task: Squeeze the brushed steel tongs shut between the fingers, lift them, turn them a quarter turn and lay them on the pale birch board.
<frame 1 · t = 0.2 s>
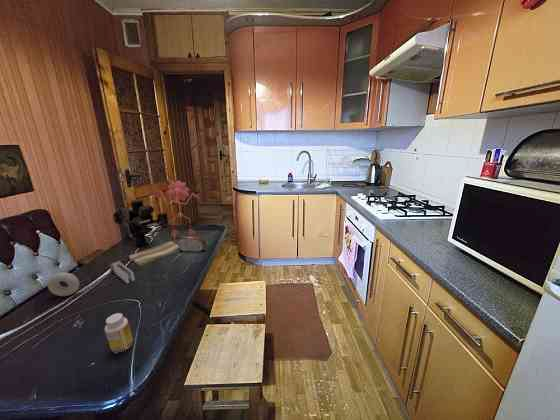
hand: (156, 226, 116), 17 cm above the table, tool horizontal, fingers open, 9 cm apart
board: (156, 253, 125), on the table
tin: (192, 251, 127), on the table
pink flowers: (185, 236, 147), on the table
donut: (67, 295, 93), on the table
tongs: (123, 275, 106), on the table
supplement bottle: (122, 346, 69), on the table
blueberries: (82, 325, 78), on the table
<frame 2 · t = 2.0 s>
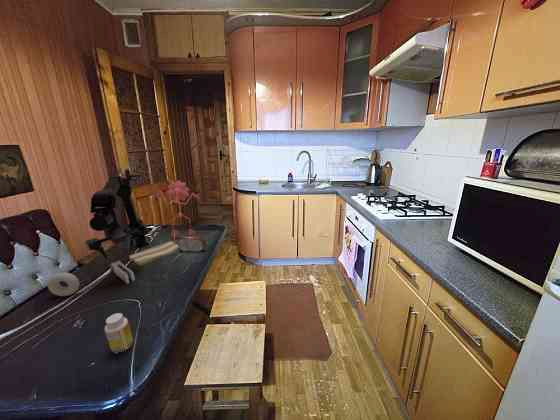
hand: (118, 255, 103), 10 cm above the table, tool pointing down, fingers open, 9 cm apart
nothing on the table moved.
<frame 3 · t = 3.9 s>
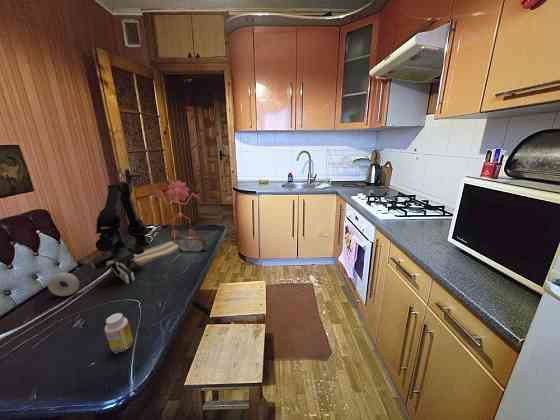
hand: (123, 273, 105), 1 cm above the table, tool pointing down, fingers closed on tongs, 3 cm apart
tongs: (123, 275, 106), on the table, touching gripper
everything else where it was.
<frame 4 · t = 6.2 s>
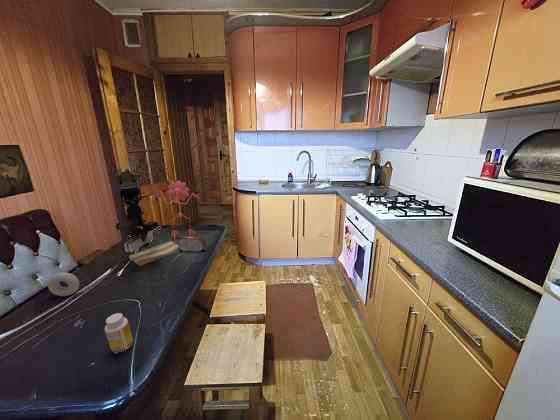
hand: (141, 241, 115), 11 cm above the table, tool pointing down, fingers closed on tongs, 3 cm apart
tongs: (141, 244, 115), point 9 cm above the table, touching gripper
everything else where it was.
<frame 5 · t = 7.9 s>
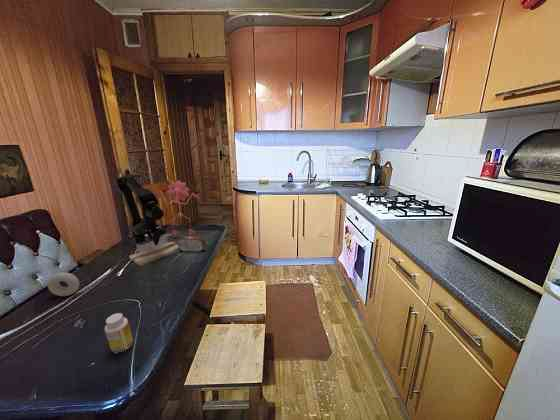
hand: (154, 244, 124), 6 cm above the table, tool pointing down, fingers closed on tongs, 3 cm apart
tongs: (155, 246, 124), point 4 cm above the table, touching gripper
everything else where it was.
when the fingers open (3 cm above the table, at t = 9.0 s): tongs stays where it is, resting on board.
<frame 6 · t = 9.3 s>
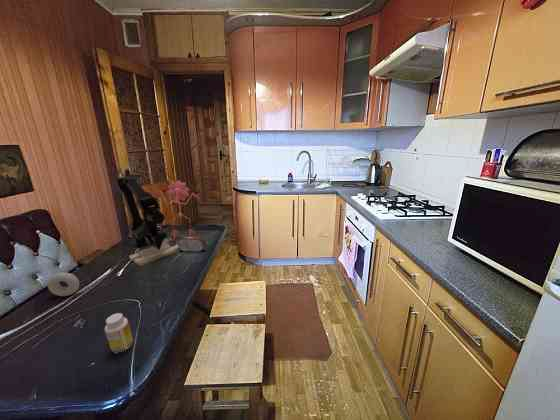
hand: (155, 247, 124), 3 cm above the table, tool pointing down, fingers open, 7 cm apart
tongs: (156, 251, 125), point 1 cm above the table, touching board
everything else where it was.
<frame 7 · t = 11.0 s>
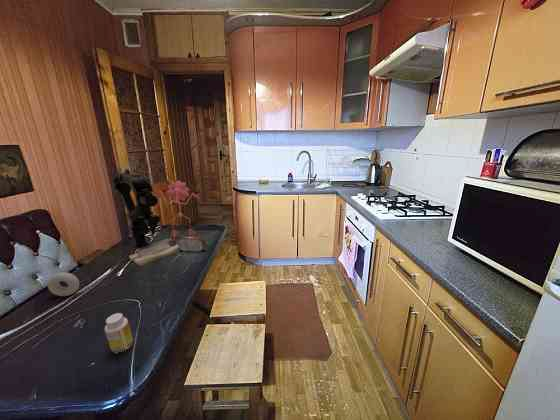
hand: (149, 231, 124), 12 cm above the table, tool pointing down, fingers open, 9 cm apart
nothing on the table moved.
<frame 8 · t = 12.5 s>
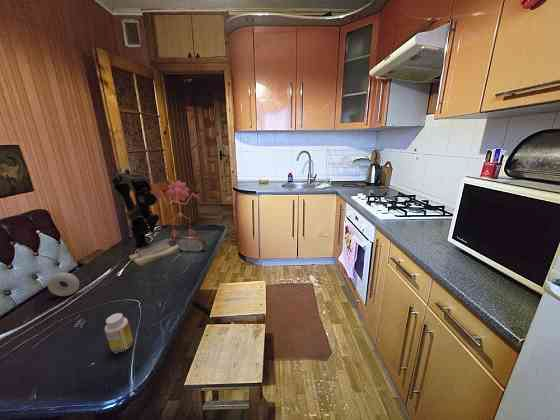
hand: (148, 230, 125), 12 cm above the table, tool pointing down, fingers open, 9 cm apart
nothing on the table moved.
at the end: tongs inside the target area on the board (0.1 cm from its centre), point 1.5 cm above the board's base; tongs touching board; the gripper is holding nothing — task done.
